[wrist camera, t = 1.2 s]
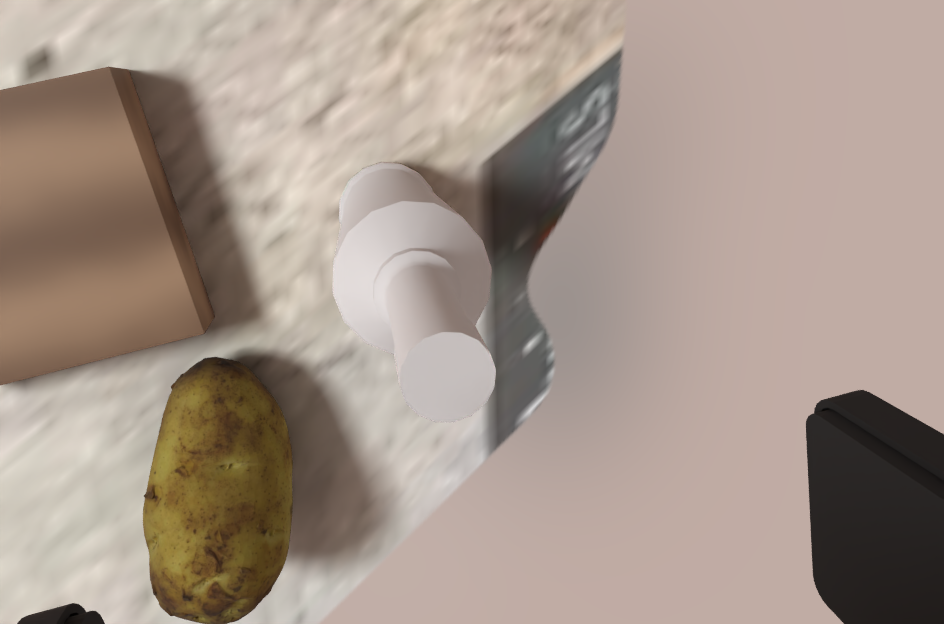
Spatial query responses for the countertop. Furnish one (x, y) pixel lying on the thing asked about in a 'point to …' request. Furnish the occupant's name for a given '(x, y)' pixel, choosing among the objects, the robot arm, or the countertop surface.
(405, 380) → the bottle
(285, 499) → the potato
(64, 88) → the walnut plinth
